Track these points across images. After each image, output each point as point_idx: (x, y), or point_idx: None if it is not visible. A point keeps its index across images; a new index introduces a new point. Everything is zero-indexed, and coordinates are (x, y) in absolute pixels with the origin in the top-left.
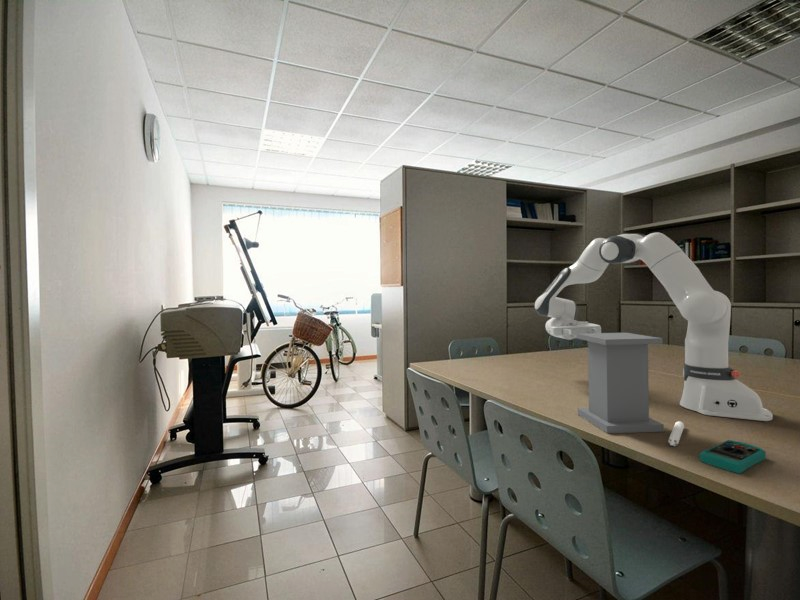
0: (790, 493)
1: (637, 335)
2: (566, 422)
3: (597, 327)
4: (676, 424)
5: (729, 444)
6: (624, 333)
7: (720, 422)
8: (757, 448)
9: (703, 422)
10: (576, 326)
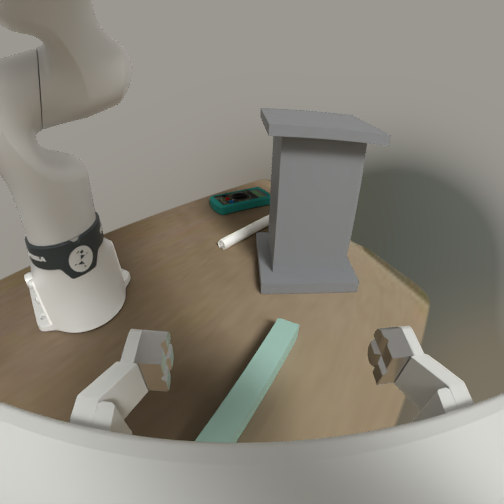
0: (248, 183)
1: (277, 115)
2: (379, 267)
3: (26, 415)
4: (235, 235)
5: (229, 202)
6: (283, 121)
7: (144, 257)
8: (214, 197)
9: (167, 258)
10: (315, 455)
